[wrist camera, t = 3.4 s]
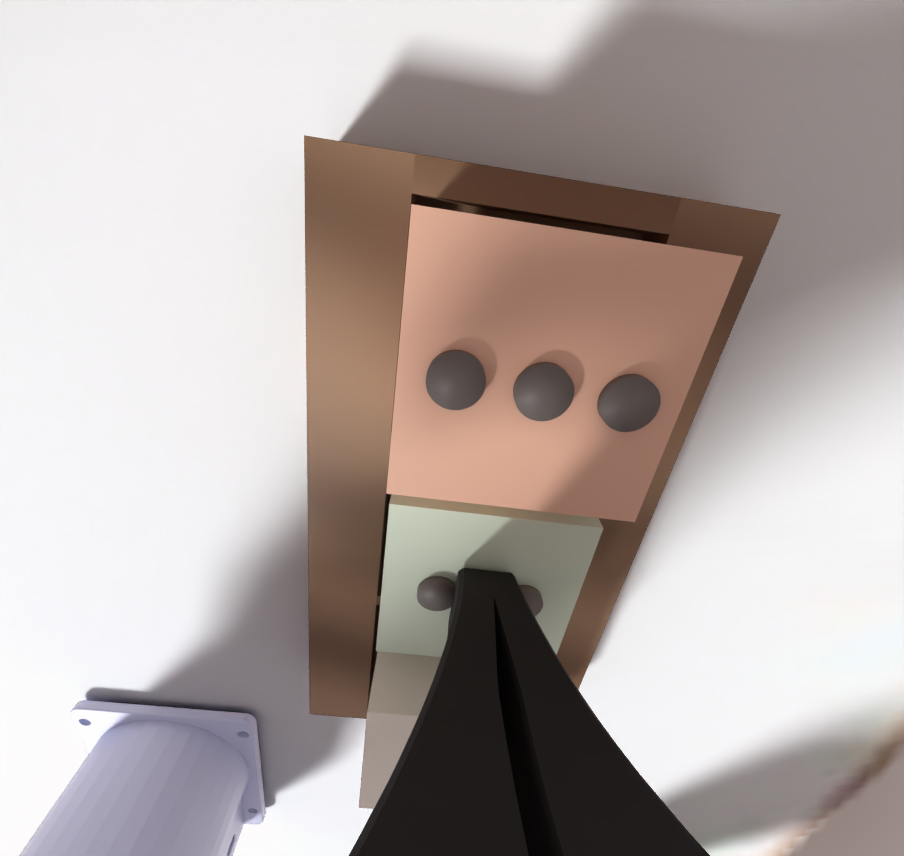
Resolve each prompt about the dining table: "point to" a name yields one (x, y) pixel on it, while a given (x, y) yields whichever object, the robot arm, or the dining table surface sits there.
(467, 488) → the peach block
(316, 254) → the board
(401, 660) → the beige block
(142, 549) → the dining table surface
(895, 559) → the dining table surface
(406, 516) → the pale green knobbed block
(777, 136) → the dining table surface
